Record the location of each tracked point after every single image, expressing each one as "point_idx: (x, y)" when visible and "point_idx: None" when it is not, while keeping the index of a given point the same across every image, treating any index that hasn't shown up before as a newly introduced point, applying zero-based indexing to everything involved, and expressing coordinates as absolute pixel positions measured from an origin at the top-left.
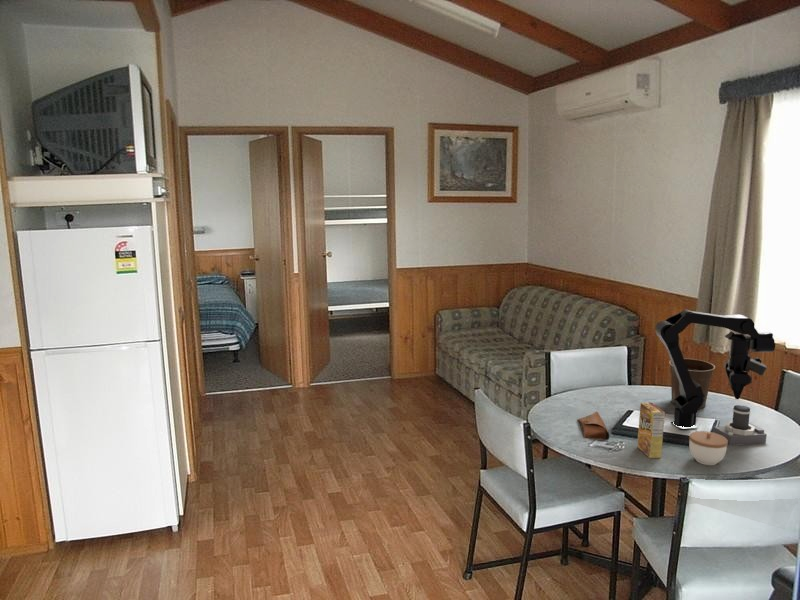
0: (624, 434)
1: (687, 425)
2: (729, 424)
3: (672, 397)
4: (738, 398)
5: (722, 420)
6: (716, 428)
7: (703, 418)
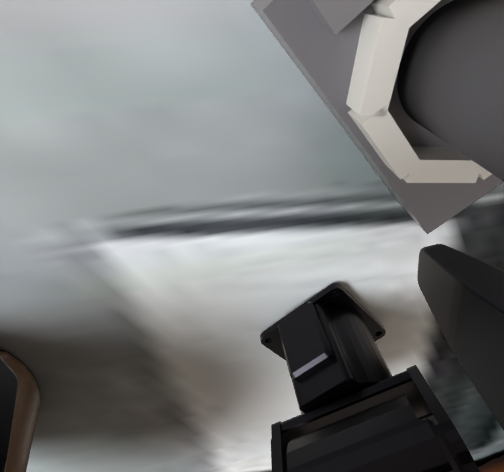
0: (486, 426)
1: (366, 327)
2: (458, 160)
3: None
4: (449, 254)
5: (91, 200)
6: (453, 215)
7: (139, 290)
